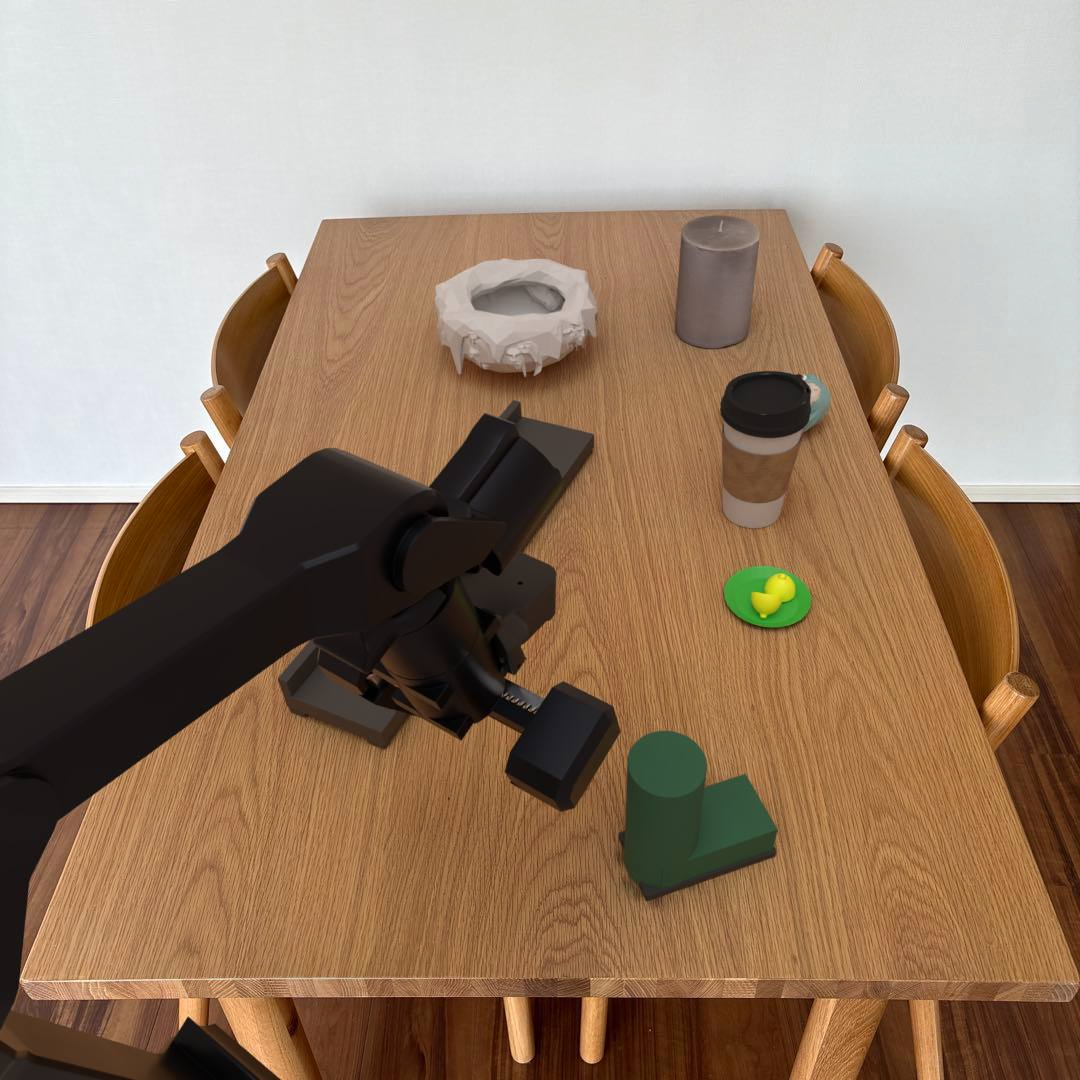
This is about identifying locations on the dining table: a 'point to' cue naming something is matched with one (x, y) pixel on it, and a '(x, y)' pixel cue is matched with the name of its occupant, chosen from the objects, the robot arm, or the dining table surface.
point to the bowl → (515, 314)
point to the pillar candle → (716, 280)
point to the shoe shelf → (351, 712)
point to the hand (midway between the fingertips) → (494, 744)
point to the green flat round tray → (767, 596)
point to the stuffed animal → (816, 399)
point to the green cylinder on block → (687, 818)
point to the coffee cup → (761, 443)
